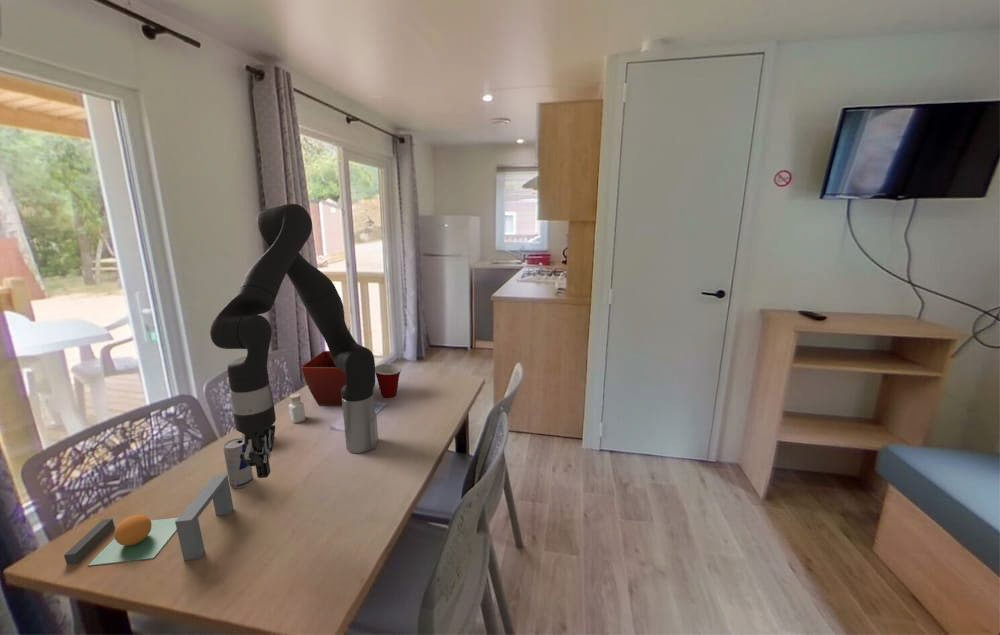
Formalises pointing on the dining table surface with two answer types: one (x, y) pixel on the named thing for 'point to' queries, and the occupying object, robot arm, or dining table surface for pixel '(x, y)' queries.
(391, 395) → the plastic cup
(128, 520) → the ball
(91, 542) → the wall
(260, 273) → the robot arm
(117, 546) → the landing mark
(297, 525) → the dining table surface
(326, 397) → the plant pot
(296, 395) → the pepper shaker
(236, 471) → the energy drink
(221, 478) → the bridge
